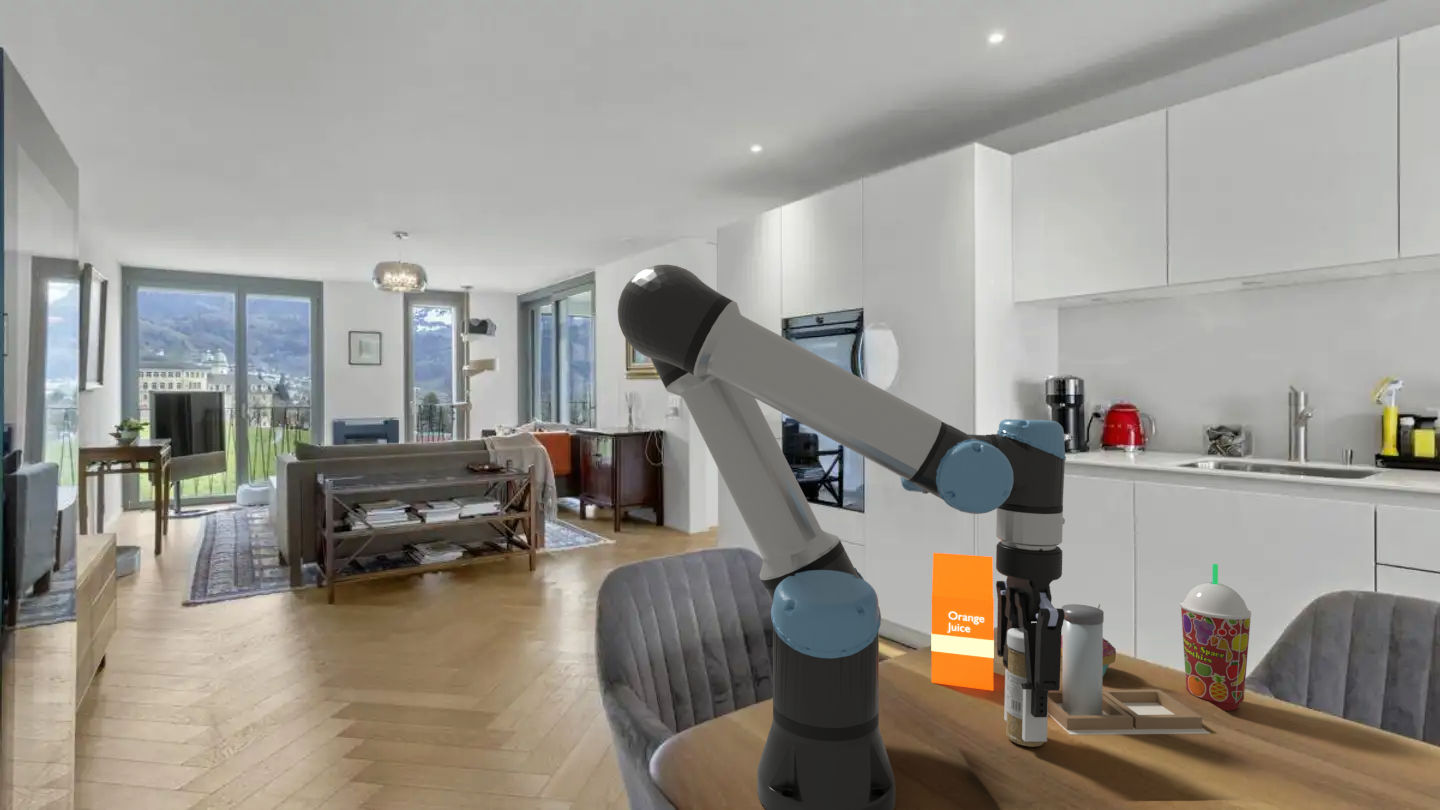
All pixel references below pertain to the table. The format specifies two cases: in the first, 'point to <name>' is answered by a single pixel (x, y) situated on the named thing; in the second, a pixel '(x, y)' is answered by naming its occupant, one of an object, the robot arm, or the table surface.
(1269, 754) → the table surface
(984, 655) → the orange juice
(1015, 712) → the spice jar
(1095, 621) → the white bottle
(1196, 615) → the smoothie
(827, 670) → the robot arm
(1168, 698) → the frame
